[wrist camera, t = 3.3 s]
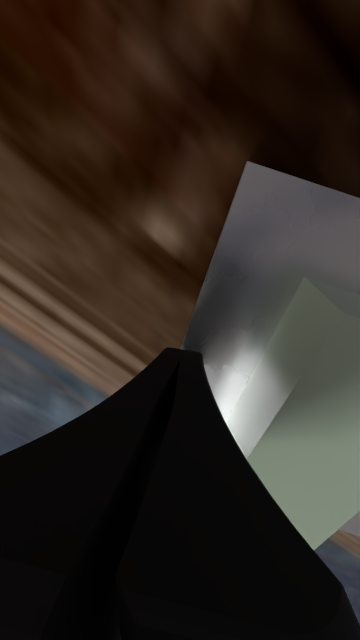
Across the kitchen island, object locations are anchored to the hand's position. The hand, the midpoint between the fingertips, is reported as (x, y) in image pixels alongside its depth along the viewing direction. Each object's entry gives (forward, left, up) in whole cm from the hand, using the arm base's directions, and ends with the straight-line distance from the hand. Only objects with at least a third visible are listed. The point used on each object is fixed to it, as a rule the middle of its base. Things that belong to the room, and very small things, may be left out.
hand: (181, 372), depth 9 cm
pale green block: (-5, 0, -1) cm, 5 cm away
